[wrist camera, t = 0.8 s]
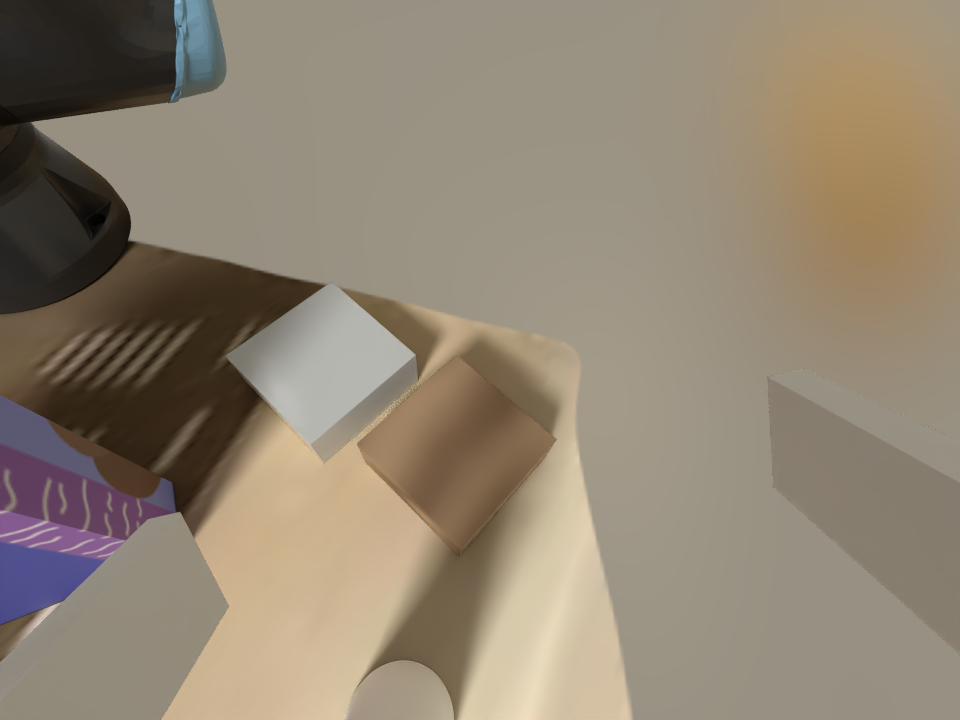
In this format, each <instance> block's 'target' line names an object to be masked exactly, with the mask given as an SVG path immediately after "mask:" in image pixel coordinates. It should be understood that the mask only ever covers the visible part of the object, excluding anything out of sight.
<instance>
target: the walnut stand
mask: <svg viewBox="0 0 960 720" xmlns="http://www.w3.org/2000/svg"><path fill="white" fill-rule="evenodd" d="M556 440H557V439H556V438H554V437H553V436H552V435H551V434H550V433H549V432H547V431H546V430H545V429H544V428H543V427H541V426H540V425H539V424H538V423H537V422H535V421H534V420H533V419H532V418H531V417H530V416H528V415H527V414H526V413H525V412H524V411H522V410H521V409H520V408H519V407H518V406H517V405H515V404H514V403H513V402H512V401H511V400H509V399H508V398H507V397H506V396H505V395H503V394H502V393H501V392H500V391H499V390H498V389H496V388H495V387H494V386H493V385H492V384H490V383H489V382H488V381H487V380H486V379H485V378H483V377H482V376H481V375H480V374H479V373H477V372H476V371H475V370H474V369H473V368H471V367H470V366H469V365H468V364H467V363H466V362H464V361H463V360H462V359H461V358H460V357H458V356H457V355H455V356H454V357H453V358H452V359H451V360H450V361H449V362H448V363H447V364H445V365H444V366H443V367H442V368H441V369H440V370H439V371H438V372H436V373H435V374H434V375H433V376H432V377H431V378H430V379H429V380H428V381H426V382H425V383H424V384H423V385H422V386H421V387H420V388H419V389H417V390H416V391H415V392H414V393H413V394H412V395H411V396H410V397H409V398H407V399H406V400H405V401H404V402H403V403H402V404H401V405H400V406H399V407H397V408H396V409H395V410H394V411H393V412H392V413H391V414H390V415H388V416H387V417H386V418H385V419H384V420H383V421H382V422H381V423H380V424H378V425H377V426H376V427H375V428H374V429H373V430H372V431H371V432H370V433H368V434H367V435H366V436H365V437H364V438H363V439H362V440H361V441H359V442H358V443H357V445H358V447H359V449H360V451H361V453H362V455H363V458H364V460H365V462H366V463H367V464H368V465H369V466H370V467H371V468H372V469H373V470H374V471H375V472H376V473H377V474H378V475H379V476H380V477H381V478H382V479H383V480H384V481H385V482H386V483H387V484H388V485H389V486H390V487H391V488H392V489H393V490H394V491H395V492H396V493H397V494H398V495H399V496H400V497H401V498H402V499H403V500H404V501H405V502H406V503H407V504H408V505H409V506H410V507H411V508H412V509H413V510H414V511H415V512H416V513H417V514H418V515H419V516H420V518H421V519H422V520H423V521H424V522H425V523H426V524H427V525H428V526H429V527H430V528H431V529H432V530H433V531H434V532H435V533H436V534H437V535H438V536H439V537H440V538H441V539H442V540H443V541H444V542H445V543H446V544H447V545H448V546H449V547H450V548H451V549H452V550H453V551H454V552H455V553H456V554H457V555H458V556H460V555H461V554H462V553H463V551H464V550H465V549H466V548H467V547H468V546H469V544H470V543H471V542H472V541H473V540H474V539H475V538H476V536H477V535H478V534H479V533H480V532H481V531H482V529H483V528H484V527H485V526H486V525H487V524H488V523H489V521H490V520H491V519H492V518H493V517H494V516H495V514H496V513H497V512H498V511H499V510H500V509H501V508H502V506H503V505H504V504H505V503H506V502H507V501H508V499H509V498H510V497H511V496H512V495H513V494H514V492H515V491H516V490H517V489H518V488H519V487H520V486H521V484H522V483H523V482H524V481H525V480H526V479H527V477H528V476H529V475H530V474H531V473H532V472H533V471H534V469H535V468H536V467H537V466H538V465H539V464H540V462H541V461H542V460H543V459H544V458H545V456H546V455H547V453H548V452H549V450H550V449H551V447H552V446H553V444H554V443H555V441H556Z"/></svg>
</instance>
